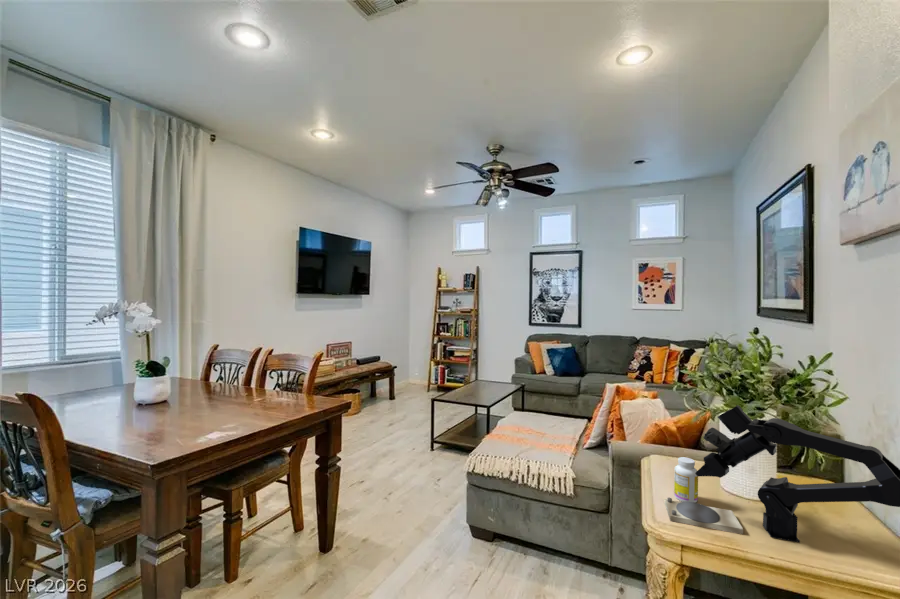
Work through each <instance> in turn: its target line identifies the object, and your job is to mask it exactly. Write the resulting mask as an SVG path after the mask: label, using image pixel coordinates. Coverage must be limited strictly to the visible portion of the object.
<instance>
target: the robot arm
mask: <svg viewBox="0 0 900 599" xmlns="http://www.w3.org/2000/svg"><path fill="white" fill-rule="evenodd" d="M717 418H718V420H719V421H720V422H721V423H722V424H723V425H724V426H725V427H726V429H727V430H728V431H729V432H730V433H732V434H734V435H736V434H737V435H740V434H741V435H740V436H739V437H736V438H735V437H734V438H732V439H731V438H730V437H728V435H726V434H724V433H722V431H720V430H718V429H716V428H714V427H710V428H709V429H707V431H706V433H704V436H703V439H704V441H706V442H708V443H710V444H712V446H715V447H716V448H715V450H716V451H717V453H716V452H710V453H709V454H707V455H705V456H704V457H703V462H704V464H703V465H702V466H701V467H700V468H699V469H698V470H697V472H696V473H695V474H696V475H697V476H698V477H713V478H714V477H717V478H719V479H721V478H722V477H725V476H726V475H728V474H729V473H730V467H731V468H736V467H737V466H738V465H739V464H740V463H743V462H746V461H748V460H749V459H750V458H752V457H754V456H756V455H758V454H759V453H762V452H764V451H767V452H768V453H769V454H770V456H774V455H775V454H776V453H777V446H778V445H783V446H795V447H796V446H799V447H804V448H807V449H811V450H815V451H819V452H820V453H821V452H822V453H824V454H825V453H826V454H830V455H832V456H835V457H836V456H837V457H840V458H844V459H846V460H850V461H854V462H858V463H861V464H864V465H865V466H866V468H867V469H868V470H869V471H870V473H871V474H872V475H873V477H874V478H873V479H870V480H866V481H857V482H855V481H854V482H852V481H851V482H830V483H806V484H805V483H800V484H799V483H793V482H789V479H788V477H787V476H784V477H780V478H779V477H778V478H777V477H772V476H771V477H770V478H769V479H768V480H766V481H764V482H763V483H762V485H761V486H760V488H759V489H758V491H757V497H758V499H759V501H760V502H761V503H762V504H763V506H764V508H765V511H764V512H763V513H762V527H763V528H764V529H765V531H766V532H767V534H768V536H770V537H771V538H772V539H777V540H783V541H788V542H793V543H801V540H800V539H799V538H798V516H797V515H796V514H795V511H796V510H797V507H798V505H799V504H801V503H802V504H803V503H832V502H833V503H842V502H843V503H851V502H852V503H854V502H862V503H863V502H872V503H876V504H880V505H885V506H888V507H894V508H895V507H896V508H900V468H899V467H898V466H897V465H896V464H894V463H893V462H892V461H891V460H890V459H888V457H886V456H885V455H884V454H883V452H882V451H881V450H880V449H879V448H877V447H875V446H871V445H863V444H859V443H856V442H852V441H848V440H844V439H840V438H837V437H834V436H833V437H832V436H829V435H825V434H821V433H817V432H814V431H809V430H806V429H803V428H802V427H800V426H798V425H796V424H794V423H791V422H789V421H787V420H783V419H781V418H778V417H777V418H776V417H772V418H769V419H768V420H766V419H756V418H754V419H752V418H750V417H749V415H748V414H747V413H746V412H745V411H743V408H742V407H741V406H740V405H739V404H738V405H735V406H733V407H732V408H729V409H728V410H726V411H725V412H723V413H721V414H720V415H718V416H717ZM746 431H748V432H746ZM744 432H746V433H744ZM742 433H744V434H742ZM777 444H778V445H777Z"/></svg>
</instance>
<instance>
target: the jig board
mask: <svg viewBox="0 0 900 599" xmlns="http://www.w3.org/2000/svg"><path fill="white" fill-rule="evenodd" d="M664 506H665V510H666V512H667V515H668V516H667V517H668V519H669V521H670V522H674V523H680V524H684V525H685V524H686V525H689V526H690V525H691V526H695V527H696V526H697V527H700V528H705V529H706V528H707V529H712V530H717V531H723V532H728V533H733V534H738V535H744V529H743V526H742V525H741V523H740V522H739V520H738V518H737V517H736V515H735V513H734V511H733V510H732V509H731V510H730V509H724V508H718V507H714V506H707V505H705V504H701V503H698V502H696V503H694V502H682V501H679V500H678V501H677V500H673V498H672V497H667V499H664Z"/></svg>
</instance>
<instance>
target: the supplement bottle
mask: <svg viewBox="0 0 900 599" xmlns="http://www.w3.org/2000/svg"><path fill="white" fill-rule="evenodd" d="M677 463H678V464H677V465H676V466H674V478H673V479H674V480H673V481H674V482H673V483H674V485H673V486H674V487H673V488H674V490H673V492H674V494H673V495H674V497H675V499H677V500H678V501H679V502H694V503H698V500H699V476H697V475H696V474H695V473H696V472H697V471H698V470H697V469H696V468H695V465H696V461H695V460H694V459H692V458H691V457H684V456H680V457H678V459H677Z"/></svg>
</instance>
